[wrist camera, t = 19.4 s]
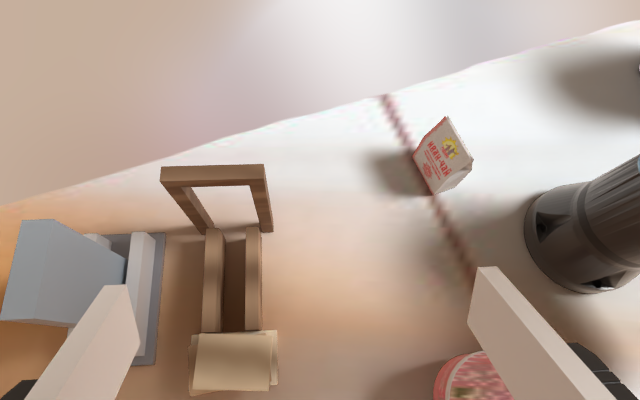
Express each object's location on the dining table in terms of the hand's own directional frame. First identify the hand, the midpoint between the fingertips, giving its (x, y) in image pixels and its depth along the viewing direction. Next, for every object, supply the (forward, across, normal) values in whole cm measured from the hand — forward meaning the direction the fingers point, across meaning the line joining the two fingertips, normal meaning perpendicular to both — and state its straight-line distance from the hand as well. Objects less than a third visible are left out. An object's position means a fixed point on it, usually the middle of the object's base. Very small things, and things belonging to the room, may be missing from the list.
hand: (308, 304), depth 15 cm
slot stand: (+29, -22, -21) cm, 42 cm away
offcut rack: (+29, -8, -22) cm, 37 cm away
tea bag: (+41, +21, -10) cm, 47 cm away
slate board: (+29, -22, -20) cm, 41 cm away
